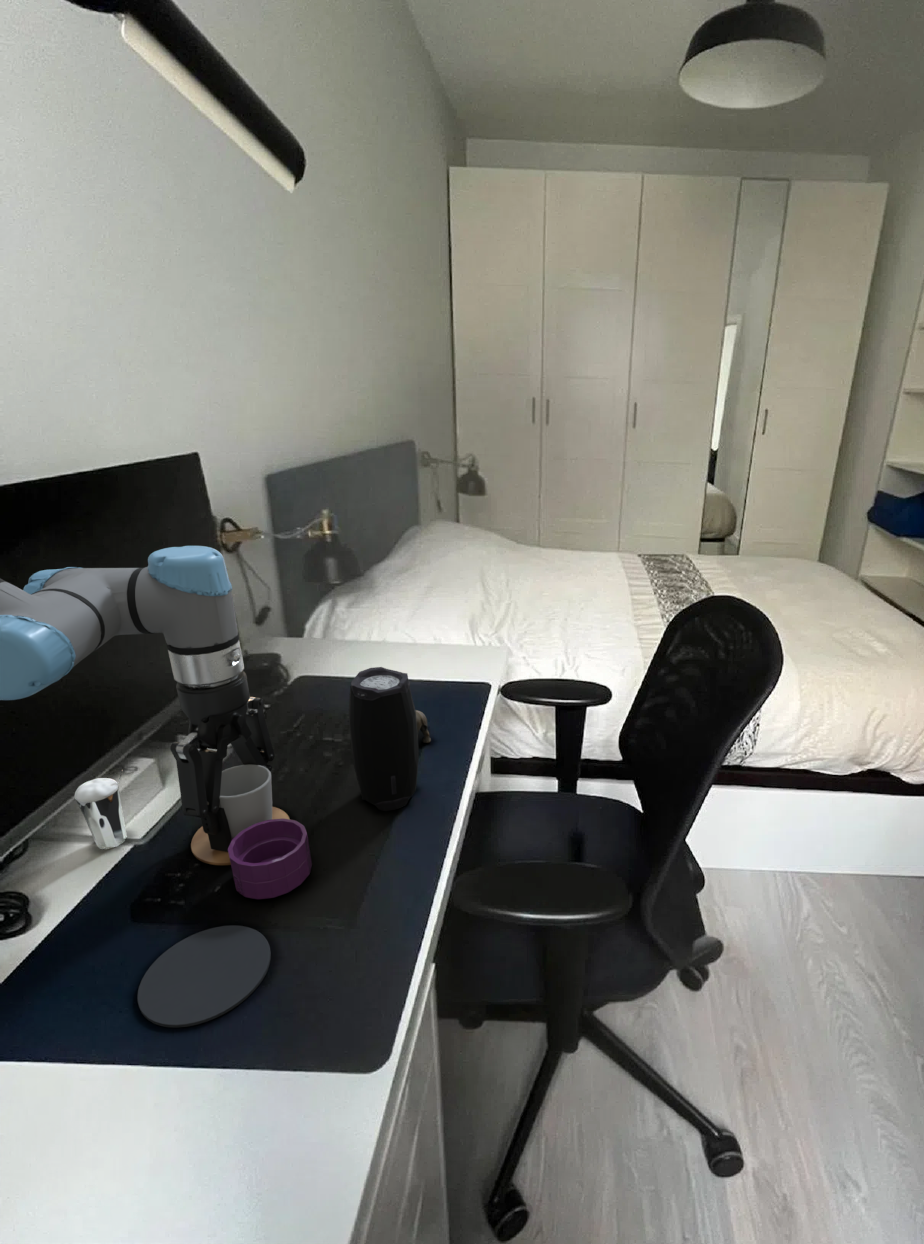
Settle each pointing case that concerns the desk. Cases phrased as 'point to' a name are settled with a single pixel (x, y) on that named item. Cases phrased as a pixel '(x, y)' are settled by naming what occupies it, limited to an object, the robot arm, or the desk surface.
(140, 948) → the desk surface
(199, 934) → the slate coaster
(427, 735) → the rhino figurine
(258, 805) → the cup
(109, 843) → the milkshake
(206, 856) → the wooden coaster
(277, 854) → the plum bowl
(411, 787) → the portable speaker
